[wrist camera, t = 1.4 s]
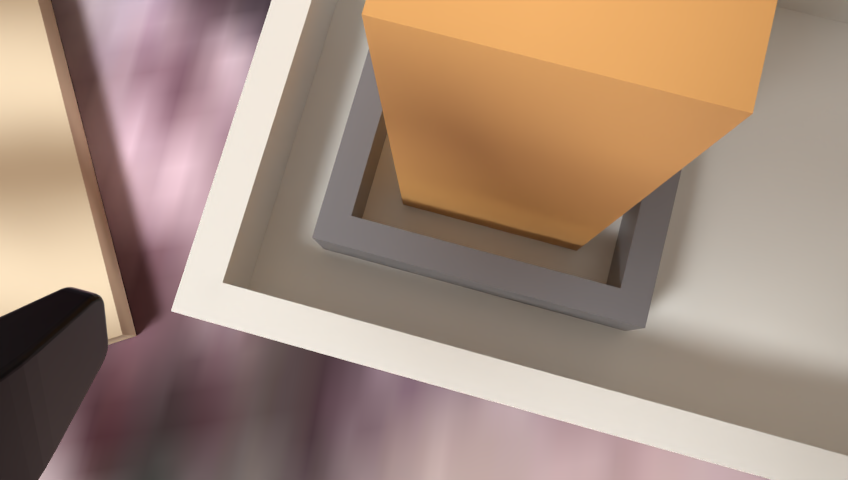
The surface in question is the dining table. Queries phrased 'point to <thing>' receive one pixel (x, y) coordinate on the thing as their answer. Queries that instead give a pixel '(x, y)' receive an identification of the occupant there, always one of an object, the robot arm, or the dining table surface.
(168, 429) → the dining table surface
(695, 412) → the equipment case
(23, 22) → the wooden board
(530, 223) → the block
